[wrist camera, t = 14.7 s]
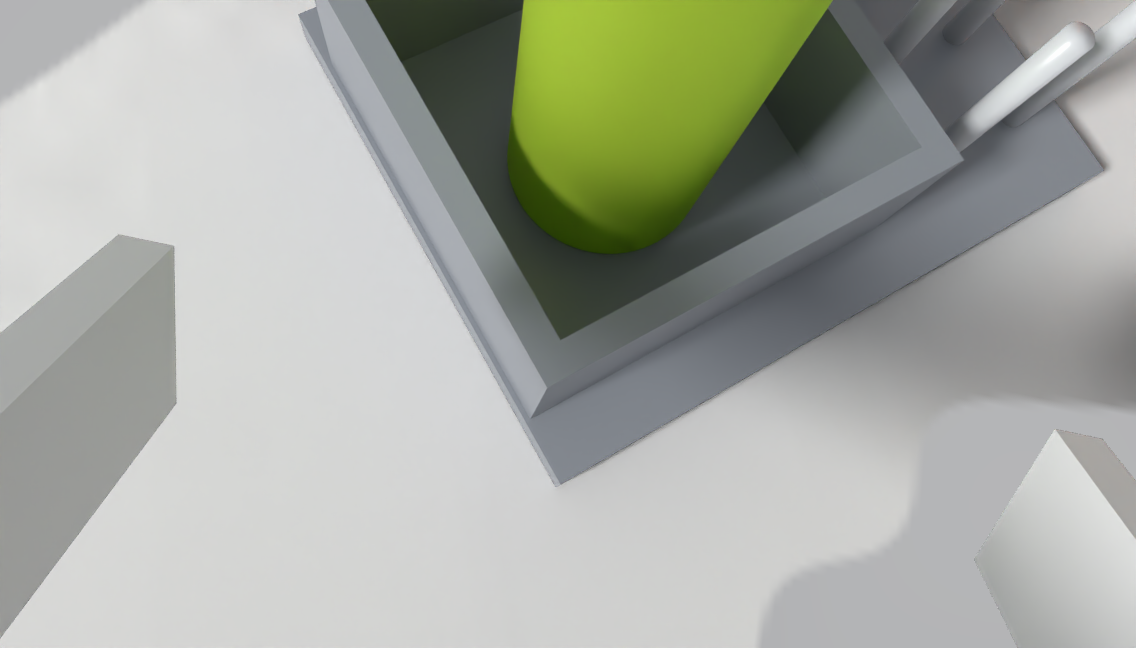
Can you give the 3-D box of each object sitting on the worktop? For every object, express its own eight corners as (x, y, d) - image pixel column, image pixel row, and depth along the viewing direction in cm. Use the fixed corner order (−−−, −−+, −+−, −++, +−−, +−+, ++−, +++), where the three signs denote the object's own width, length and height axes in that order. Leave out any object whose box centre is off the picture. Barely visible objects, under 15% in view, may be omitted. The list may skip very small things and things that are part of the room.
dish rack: (822, -179, 32) (941, -416, 24) (1079, 185, 29) (1305, 53, 22) (305, 36, 27) (241, -169, 20) (555, 487, 25) (599, 460, 17)
